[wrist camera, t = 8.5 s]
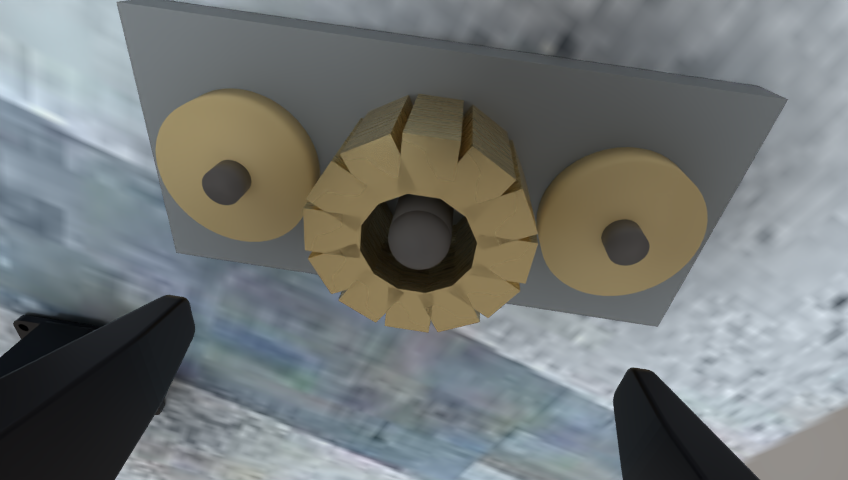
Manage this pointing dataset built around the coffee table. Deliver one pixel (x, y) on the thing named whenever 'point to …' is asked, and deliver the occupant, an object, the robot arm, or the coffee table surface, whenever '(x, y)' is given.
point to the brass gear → (432, 177)
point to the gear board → (477, 85)
